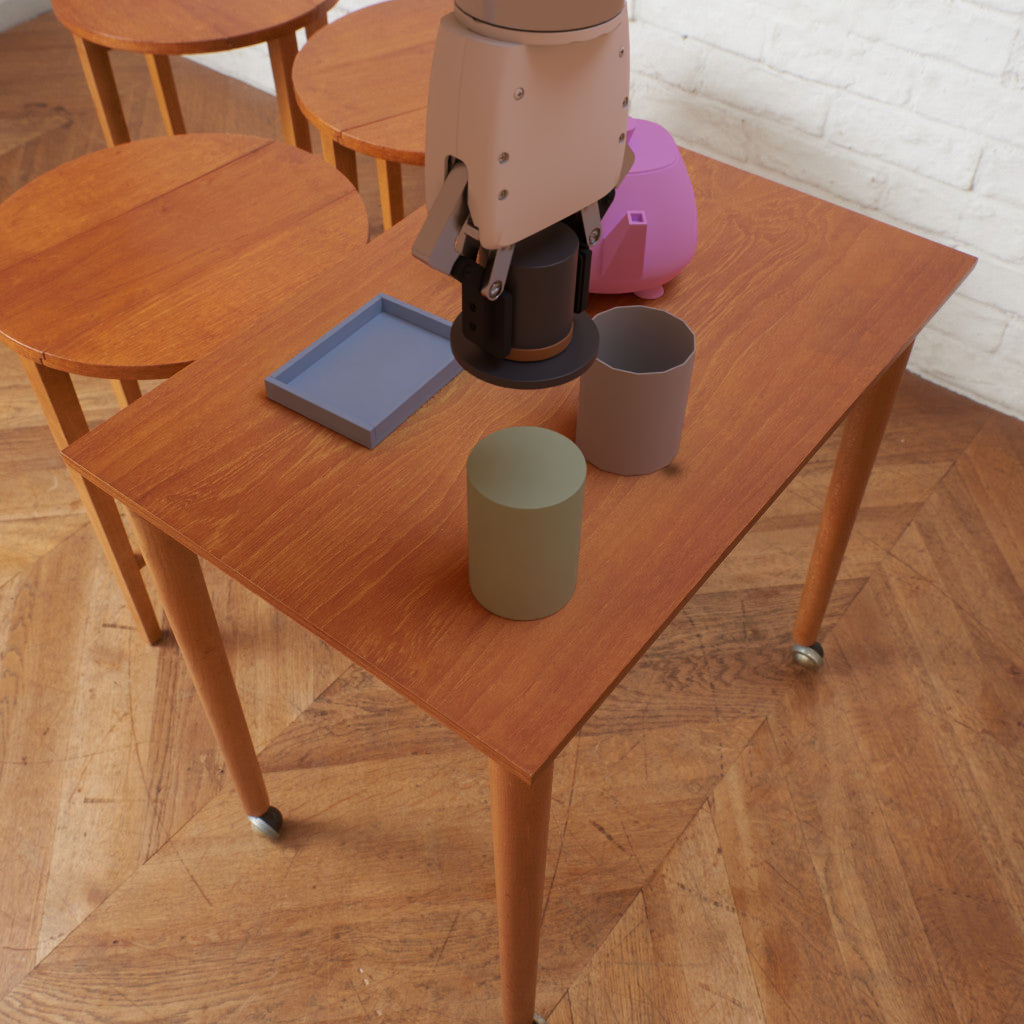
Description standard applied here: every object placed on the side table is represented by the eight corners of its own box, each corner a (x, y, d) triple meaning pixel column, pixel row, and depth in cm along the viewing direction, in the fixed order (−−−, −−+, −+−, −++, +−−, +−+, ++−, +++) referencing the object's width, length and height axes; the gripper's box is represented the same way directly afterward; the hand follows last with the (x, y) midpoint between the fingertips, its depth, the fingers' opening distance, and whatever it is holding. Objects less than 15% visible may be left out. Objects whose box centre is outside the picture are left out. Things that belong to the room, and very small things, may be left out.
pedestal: (483, 630, 71) (482, 518, 63) (458, 549, 76) (454, 436, 68) (590, 608, 72) (602, 496, 64) (558, 530, 77) (566, 417, 69)
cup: (649, 490, 80) (664, 388, 73) (556, 451, 83) (562, 349, 76) (695, 428, 85) (714, 327, 78) (606, 393, 88) (616, 293, 81)
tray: (371, 450, 83) (369, 431, 82) (267, 397, 87) (263, 379, 86) (482, 353, 92) (482, 334, 90) (382, 310, 96) (380, 291, 95)
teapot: (495, 351, 92) (496, 195, 81) (479, 229, 106) (477, 82, 95) (715, 340, 94) (744, 186, 83) (670, 222, 107) (690, 76, 97)
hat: (469, 400, 56) (468, 295, 51) (436, 310, 61) (433, 207, 56) (619, 378, 57) (632, 273, 52) (573, 292, 63) (581, 191, 58)
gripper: (606, -86, 51) (579, 241, 64) (328, 1, 43) (362, 358, 56) (729, -45, 48) (674, 292, 61) (453, 58, 39) (458, 426, 52)
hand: (525, 321), depth 58 cm, fingers closed on hat, 5 cm apart
